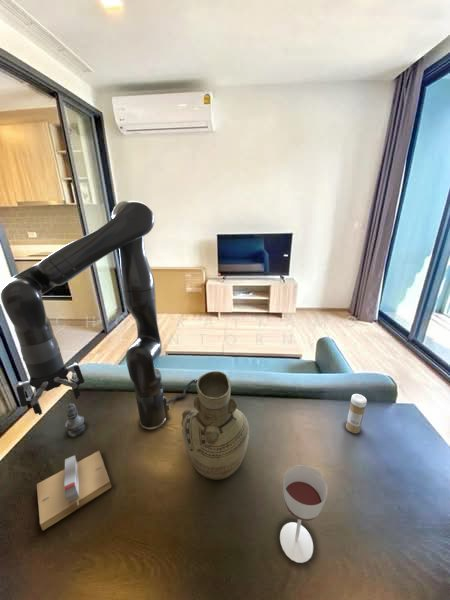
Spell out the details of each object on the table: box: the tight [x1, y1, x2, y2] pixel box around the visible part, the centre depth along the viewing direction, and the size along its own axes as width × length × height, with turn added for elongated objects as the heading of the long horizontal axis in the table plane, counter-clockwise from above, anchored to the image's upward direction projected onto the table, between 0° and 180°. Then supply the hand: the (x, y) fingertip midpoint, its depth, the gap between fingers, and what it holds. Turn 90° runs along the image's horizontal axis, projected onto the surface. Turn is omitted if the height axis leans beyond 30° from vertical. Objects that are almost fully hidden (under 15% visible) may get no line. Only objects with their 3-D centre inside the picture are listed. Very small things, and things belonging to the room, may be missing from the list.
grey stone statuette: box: [64, 402, 86, 437], centre depth 86 cm, size 6×6×12 cm
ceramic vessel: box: [181, 370, 250, 481], centre depth 73 cm, size 19×21×30 cm
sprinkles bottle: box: [345, 393, 368, 434], centre depth 85 cm, size 5×5×13 cm
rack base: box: [36, 450, 112, 531], centre depth 69 cm, size 16×14×3 cm
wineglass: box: [279, 464, 328, 564], centre depth 55 cm, size 8×9×20 cm
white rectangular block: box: [64, 455, 79, 502], centre depth 68 cm, size 10×2×4 cm, turn 30°
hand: (58, 404), depth 69 cm, fingers open, 8 cm apart
